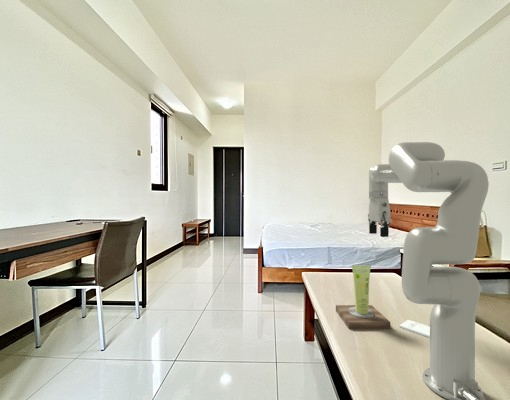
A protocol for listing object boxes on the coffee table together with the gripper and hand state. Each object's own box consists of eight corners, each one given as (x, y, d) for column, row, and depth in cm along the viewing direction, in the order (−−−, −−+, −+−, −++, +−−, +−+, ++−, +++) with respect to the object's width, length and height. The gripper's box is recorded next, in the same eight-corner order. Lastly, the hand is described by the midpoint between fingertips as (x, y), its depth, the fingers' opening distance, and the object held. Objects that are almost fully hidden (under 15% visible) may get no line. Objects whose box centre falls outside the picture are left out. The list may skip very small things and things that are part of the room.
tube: (363, 316, 103) (363, 267, 103) (352, 311, 108) (351, 264, 108) (371, 312, 107) (370, 265, 107) (359, 308, 111) (359, 262, 111)
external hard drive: (437, 342, 91) (399, 329, 100) (444, 335, 96) (408, 322, 106) (437, 338, 91) (399, 324, 100) (444, 330, 96) (408, 318, 106)
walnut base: (390, 328, 100) (390, 320, 100) (348, 328, 100) (348, 320, 100) (371, 310, 116) (371, 304, 116) (335, 310, 116) (335, 304, 116)
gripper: (398, 195, 104) (398, 238, 104) (377, 195, 121) (377, 232, 121) (380, 195, 103) (380, 238, 104) (361, 195, 121) (361, 232, 121)
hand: (378, 235), depth 112 cm, fingers open, 9 cm apart
